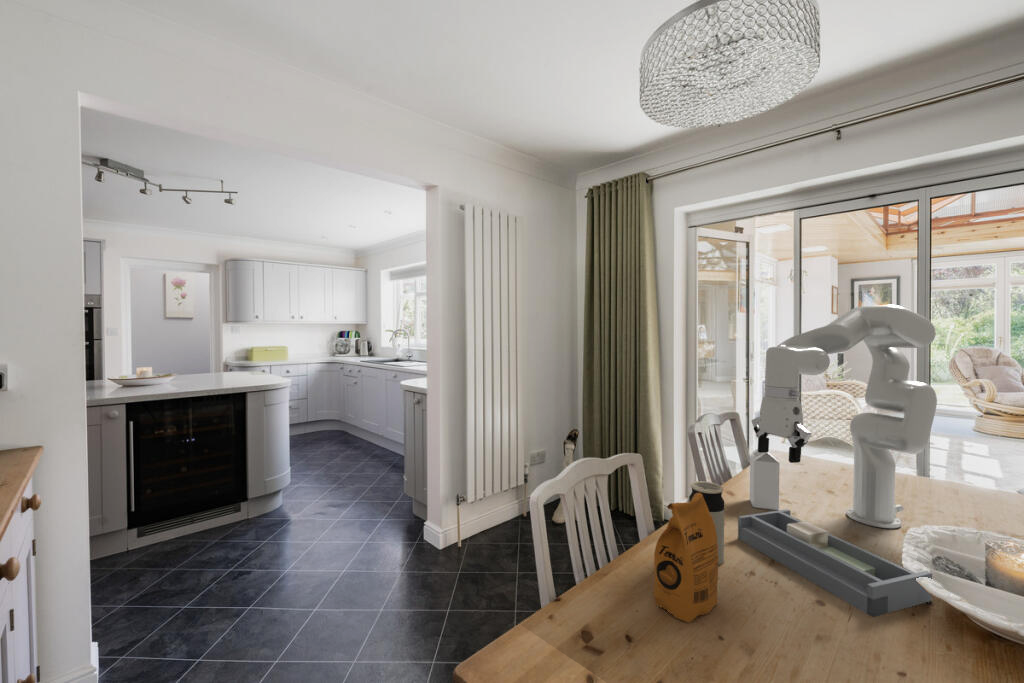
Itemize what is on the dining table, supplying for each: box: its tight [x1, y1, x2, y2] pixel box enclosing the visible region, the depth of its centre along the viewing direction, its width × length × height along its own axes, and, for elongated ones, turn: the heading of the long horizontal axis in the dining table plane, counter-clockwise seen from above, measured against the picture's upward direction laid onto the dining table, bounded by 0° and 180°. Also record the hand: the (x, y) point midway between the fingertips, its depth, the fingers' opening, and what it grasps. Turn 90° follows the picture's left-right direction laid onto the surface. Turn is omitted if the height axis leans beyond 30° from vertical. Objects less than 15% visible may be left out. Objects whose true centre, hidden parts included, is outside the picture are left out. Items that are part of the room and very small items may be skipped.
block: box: [787, 520, 829, 549], centre depth 109 cm, size 6×6×4 cm
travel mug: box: [688, 480, 725, 566], centre depth 109 cm, size 8×8×18 cm
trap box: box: [737, 508, 933, 618], centre depth 105 cm, size 17×34×6 cm, turn 16°
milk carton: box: [749, 448, 781, 511], centre depth 141 cm, size 7×7×19 cm
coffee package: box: [653, 493, 719, 623], centre depth 90 cm, size 10×12×22 cm
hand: (778, 457), depth 117 cm, fingers open, 9 cm apart
